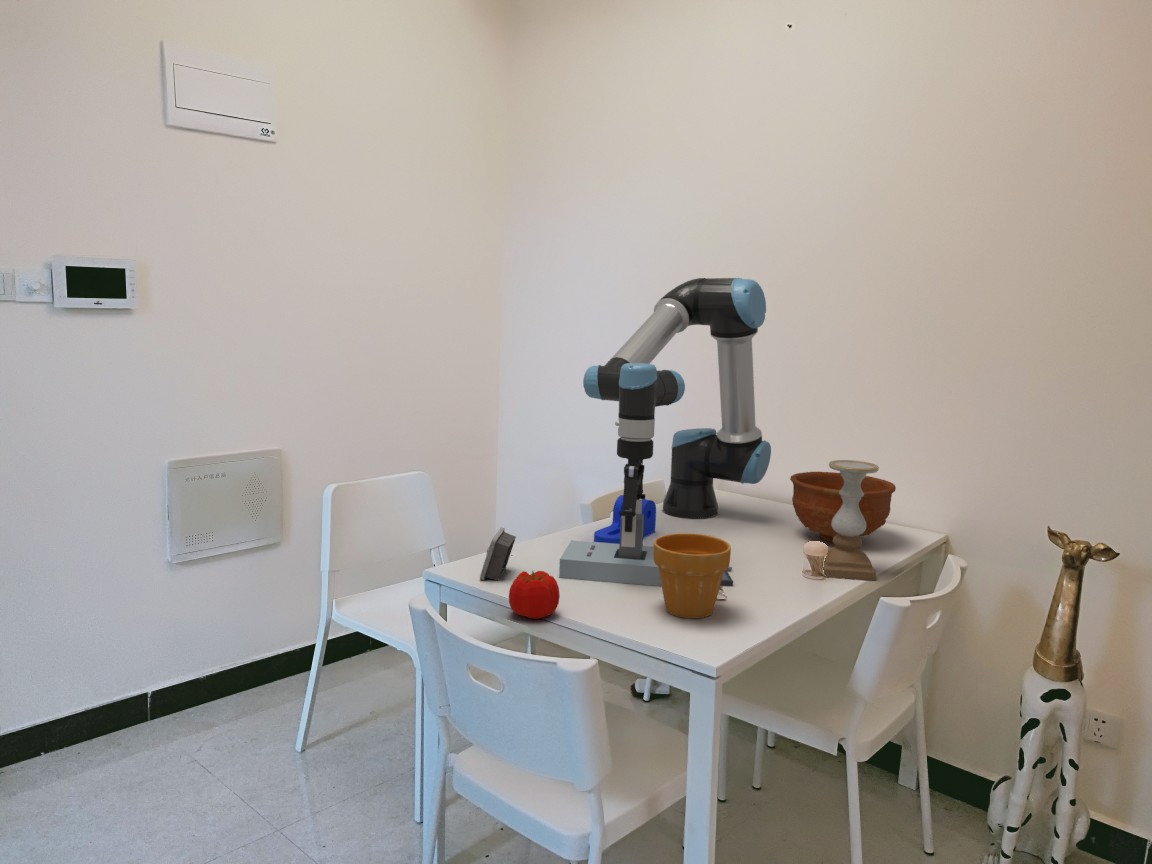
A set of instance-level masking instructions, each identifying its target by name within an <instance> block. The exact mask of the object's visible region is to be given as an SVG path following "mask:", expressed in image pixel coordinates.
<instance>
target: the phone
mask: <svg viewBox="0 0 1152 864" xmlns="http://www.w3.org/2000/svg"><path fill="white" fill-rule="evenodd" d="M720 585H721V586H722V587H733V586H734V581H733V579H732V577H731V576H730V574H729V571H727V570H725V571H724V573H723V576H722V580H721V584H720ZM721 586H720V587H721Z"/></svg>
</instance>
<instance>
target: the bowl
mask: <svg viewBox="0 0 1152 864" xmlns="http://www.w3.org/2000/svg"><path fill="white" fill-rule="evenodd" d="M789 480H790V482H791V483H792V485H793V488H792V489H793V492H792V493H793V494H792V498H791V501H792V506H793V508H794V512H795V516H796V517H797V518H798V521H799V522H801V524H802V525H803V526H804V527H805V528H807V529H808V530H810V531H811V532H813V533H816V534H817V533H818V534H819V537H820V539H822V540H824V541H828V542H831V543H833V537H834V536H835V535H836V534H837V532H835V531H834V529H833V528H832V525H831V522H832V519H833V517H834V515H835V514H836V513H837V512H838V510H839V509H840V508H841V506H842V503H843V501H842V498H841V495H840V494H839V491H840V490H841V489H842V487H843V485H844V480H843V478H842V476H841V475H840V472H834V471H833V472H832V471H831V472H829V471H806V472H805V471H804V472H799V473H794V474H792V475H790V478H789ZM896 489H897V487H896V485H895V483H892V482H891V481H888V480H885V479H882V478H877V477H873V476H869V475H866V477H865V478H864V479H863V480H862V482H861V490H862V492H863V493H864V496H863V497H861V500H860V501H859V509H860V511H861V513H862V515H863V517H864V519H865V521H866V530H865V531H864V533H862V534H860V535H859V537H860V538H861V537H864V536H869V535H871V534H872V533H874V532H875V531H877V530H878V529H880V528H881V527H883V526H884V525H885V524H886V523H887V519H888V518H889V515H890V512H891V502H892V495H893V493H895V492H896Z"/></svg>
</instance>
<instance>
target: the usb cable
mask: <svg viewBox="0 0 1152 864" xmlns="http://www.w3.org/2000/svg"><path fill="white" fill-rule="evenodd" d="M726 570H727V572H732V570H733V567H732V566H729V567H728V568H727V569H726Z"/></svg>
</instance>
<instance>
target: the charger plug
mask: <svg viewBox="0 0 1152 864" xmlns="http://www.w3.org/2000/svg"><path fill="white" fill-rule="evenodd" d="M643 525H644V514H636V531H635V547H622V546H621V540H622V516H621V519H620V545H619V558H623V559H636V560H642V548H643V546H644V545H643V544H644V541H643V540H644V537H643Z"/></svg>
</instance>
